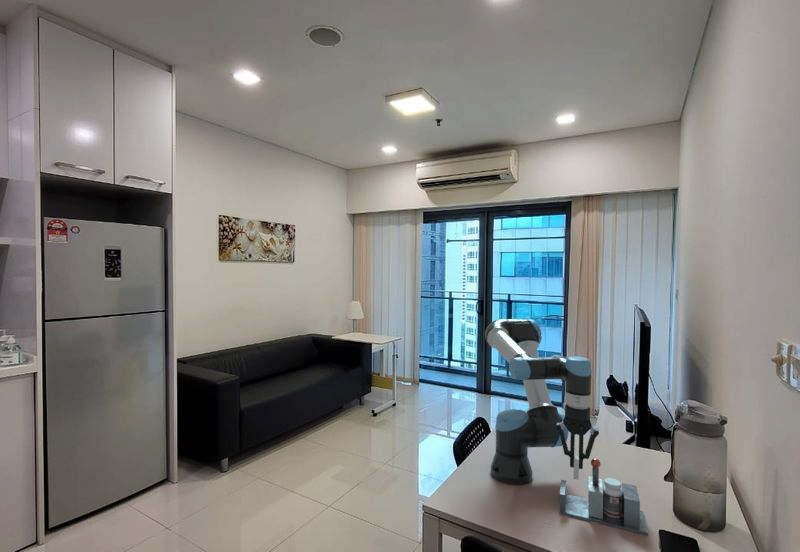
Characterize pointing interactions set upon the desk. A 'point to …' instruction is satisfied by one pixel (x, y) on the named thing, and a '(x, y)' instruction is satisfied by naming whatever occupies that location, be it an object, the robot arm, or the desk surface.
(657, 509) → the desk surface
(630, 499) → the vise body
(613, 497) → the pill bottle
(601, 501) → the free jaw
